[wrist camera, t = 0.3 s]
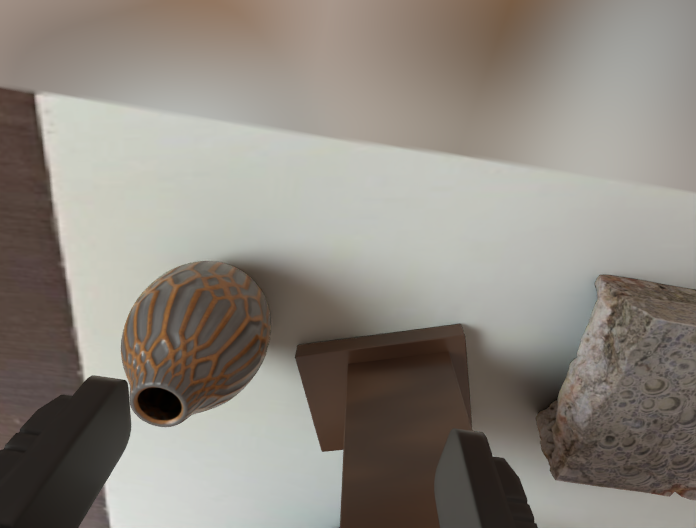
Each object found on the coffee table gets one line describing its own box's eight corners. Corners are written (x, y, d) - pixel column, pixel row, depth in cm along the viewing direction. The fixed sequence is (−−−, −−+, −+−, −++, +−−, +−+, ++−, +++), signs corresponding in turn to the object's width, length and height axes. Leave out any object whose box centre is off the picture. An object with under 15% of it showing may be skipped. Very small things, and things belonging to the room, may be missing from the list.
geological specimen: (627, 315, 19) (963, 372, 19) (572, 262, 25) (832, 305, 25) (547, 483, 24) (820, 531, 23) (515, 405, 29) (737, 443, 29)
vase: (250, 362, 27) (205, 486, 19) (146, 314, 26) (53, 426, 18) (301, 280, 25) (272, 384, 17) (188, 221, 23) (99, 305, 15)
